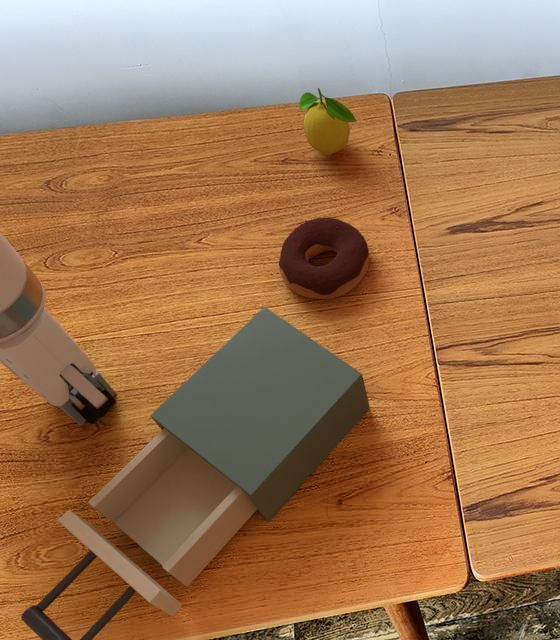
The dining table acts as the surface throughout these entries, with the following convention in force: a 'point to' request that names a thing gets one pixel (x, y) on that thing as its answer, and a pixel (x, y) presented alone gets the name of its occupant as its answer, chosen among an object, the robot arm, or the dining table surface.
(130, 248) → the dining table surface
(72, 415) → the block
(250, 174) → the dining table surface
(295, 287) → the donut
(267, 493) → the cabinet
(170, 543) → the drawer
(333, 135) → the lemon
